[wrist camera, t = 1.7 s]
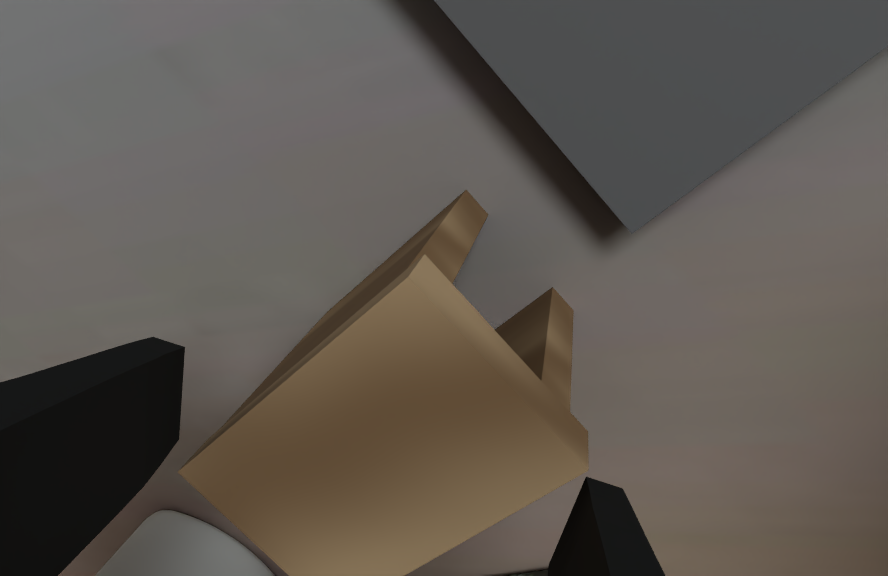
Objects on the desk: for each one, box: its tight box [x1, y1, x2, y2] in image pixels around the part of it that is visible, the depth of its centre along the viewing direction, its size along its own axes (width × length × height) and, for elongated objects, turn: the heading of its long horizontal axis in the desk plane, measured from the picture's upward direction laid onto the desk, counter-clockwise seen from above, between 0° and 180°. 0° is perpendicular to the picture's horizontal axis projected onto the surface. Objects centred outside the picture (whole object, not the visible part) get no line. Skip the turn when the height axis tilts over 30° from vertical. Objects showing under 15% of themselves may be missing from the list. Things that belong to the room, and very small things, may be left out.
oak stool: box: [178, 190, 588, 576], centre depth 13 cm, size 4×6×6 cm, turn 133°
